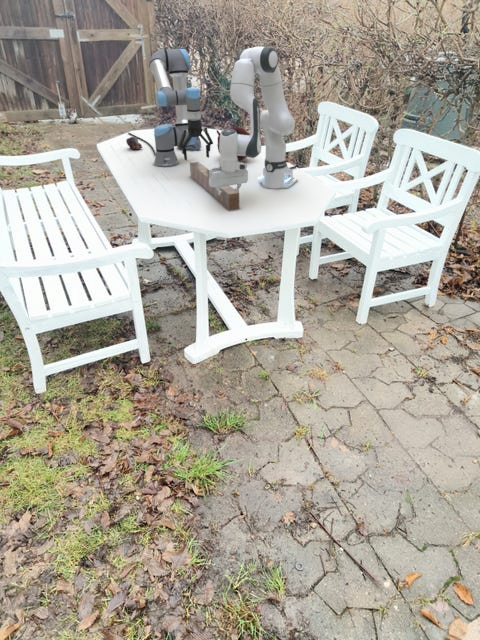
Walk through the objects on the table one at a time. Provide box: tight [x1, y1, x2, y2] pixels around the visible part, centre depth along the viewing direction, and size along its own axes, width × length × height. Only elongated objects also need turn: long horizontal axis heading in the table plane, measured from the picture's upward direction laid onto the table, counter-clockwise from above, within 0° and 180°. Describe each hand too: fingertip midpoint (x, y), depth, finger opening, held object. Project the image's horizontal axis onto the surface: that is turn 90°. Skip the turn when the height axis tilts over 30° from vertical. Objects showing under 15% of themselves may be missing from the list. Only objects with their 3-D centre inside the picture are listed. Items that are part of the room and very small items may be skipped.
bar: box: [189, 161, 240, 211], centre depth 246 cm, size 62×5×8 cm, turn 23°
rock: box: [125, 136, 143, 150], centre depth 324 cm, size 12×9×10 cm
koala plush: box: [176, 136, 202, 151], centre depth 322 cm, size 17×18×20 cm
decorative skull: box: [216, 126, 250, 162], centre depth 295 cm, size 21×24×25 cm
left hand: (196, 158), depth 261 cm, fingers open, 13 cm apart
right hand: (228, 193), depth 226 cm, fingers open, 8 cm apart
